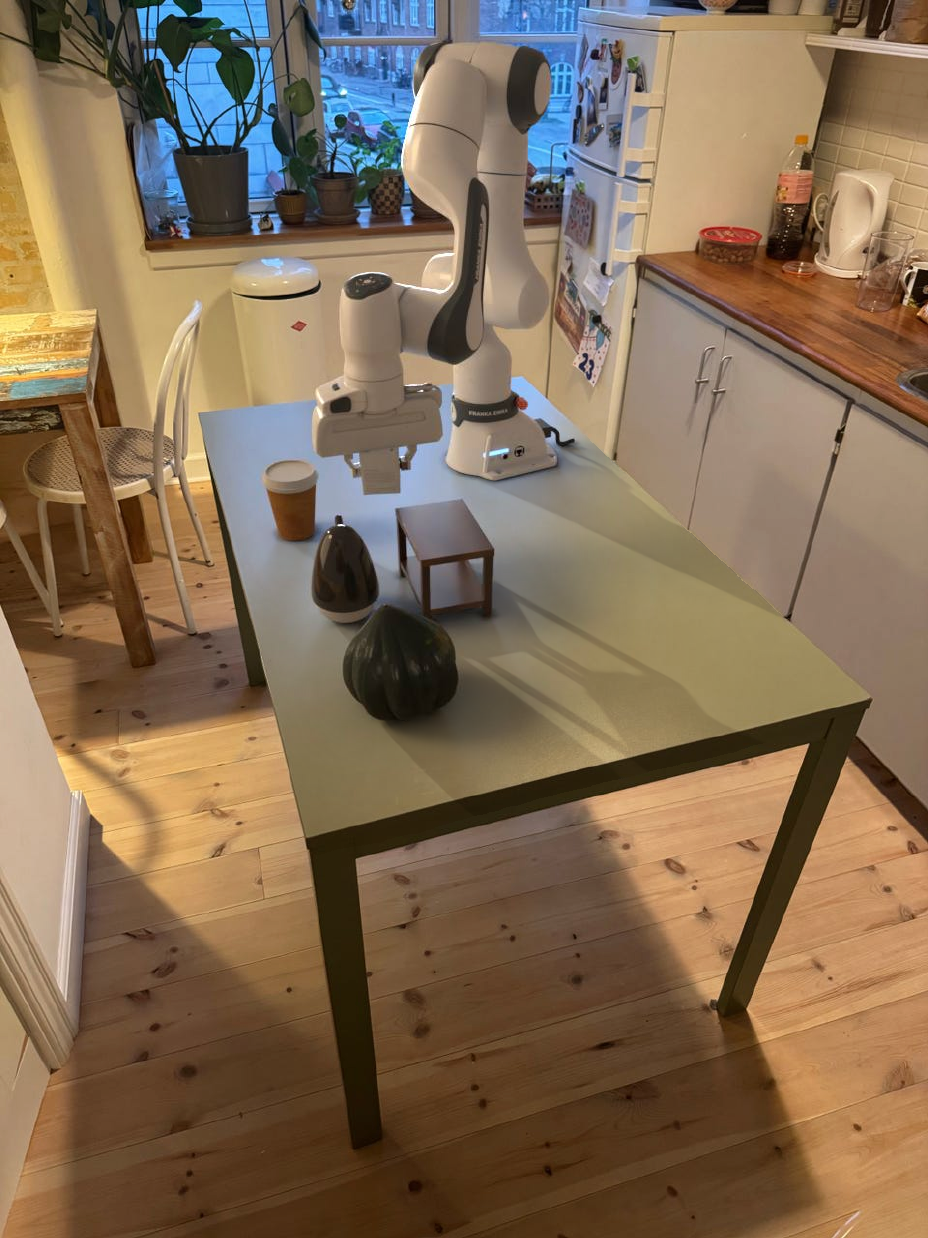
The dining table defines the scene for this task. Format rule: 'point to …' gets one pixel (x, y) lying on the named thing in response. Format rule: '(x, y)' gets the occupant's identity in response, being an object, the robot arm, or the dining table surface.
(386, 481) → the product carton
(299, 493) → the disposable coffee cup
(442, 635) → the squash
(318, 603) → the dark brown egg timer
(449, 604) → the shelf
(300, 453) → the dining table surface
